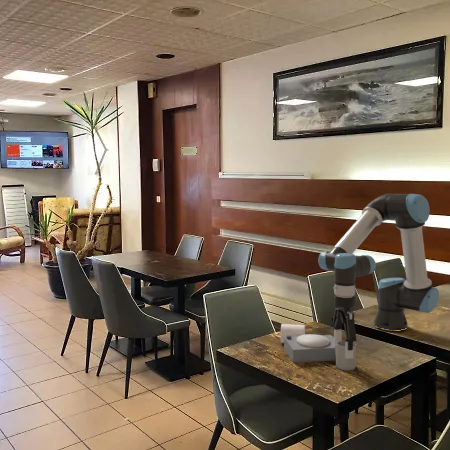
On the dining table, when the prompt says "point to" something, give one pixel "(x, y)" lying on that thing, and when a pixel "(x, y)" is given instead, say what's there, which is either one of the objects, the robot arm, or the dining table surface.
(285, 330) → the white rounded block
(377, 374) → the dining table surface
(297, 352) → the square base with disc
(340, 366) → the cup
